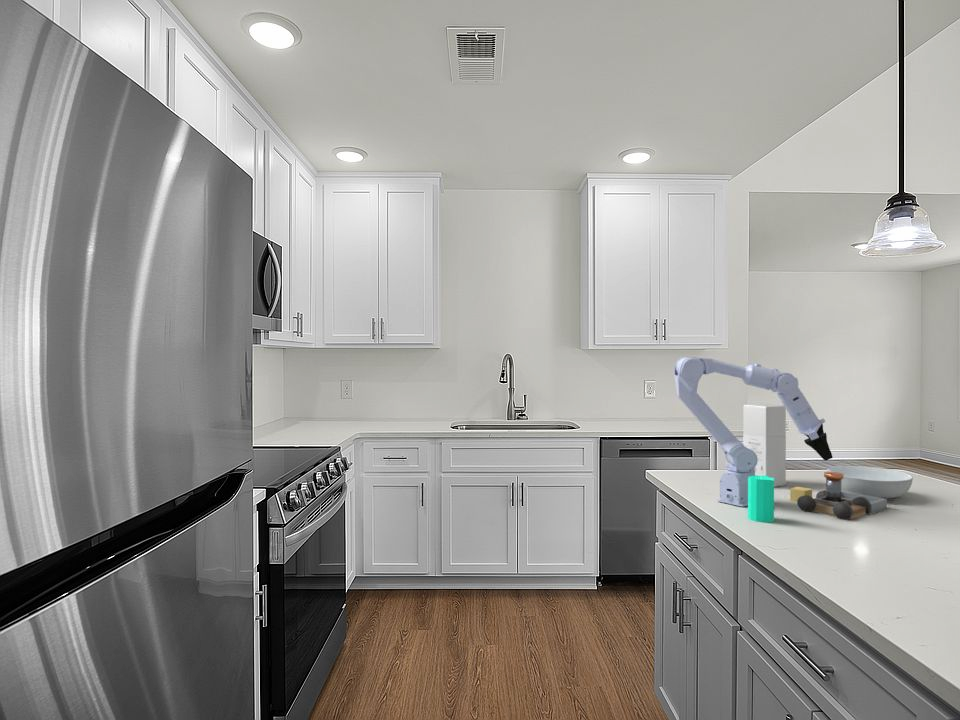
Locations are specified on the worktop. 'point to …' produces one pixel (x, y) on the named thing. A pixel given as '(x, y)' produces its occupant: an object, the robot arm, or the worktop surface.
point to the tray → (875, 502)
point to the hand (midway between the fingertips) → (827, 454)
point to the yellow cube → (799, 493)
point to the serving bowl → (873, 481)
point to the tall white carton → (767, 439)
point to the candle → (761, 498)
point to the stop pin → (833, 486)
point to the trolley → (835, 506)
